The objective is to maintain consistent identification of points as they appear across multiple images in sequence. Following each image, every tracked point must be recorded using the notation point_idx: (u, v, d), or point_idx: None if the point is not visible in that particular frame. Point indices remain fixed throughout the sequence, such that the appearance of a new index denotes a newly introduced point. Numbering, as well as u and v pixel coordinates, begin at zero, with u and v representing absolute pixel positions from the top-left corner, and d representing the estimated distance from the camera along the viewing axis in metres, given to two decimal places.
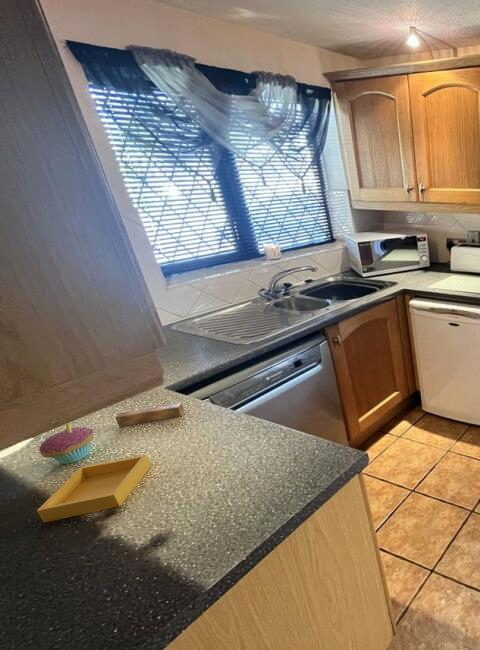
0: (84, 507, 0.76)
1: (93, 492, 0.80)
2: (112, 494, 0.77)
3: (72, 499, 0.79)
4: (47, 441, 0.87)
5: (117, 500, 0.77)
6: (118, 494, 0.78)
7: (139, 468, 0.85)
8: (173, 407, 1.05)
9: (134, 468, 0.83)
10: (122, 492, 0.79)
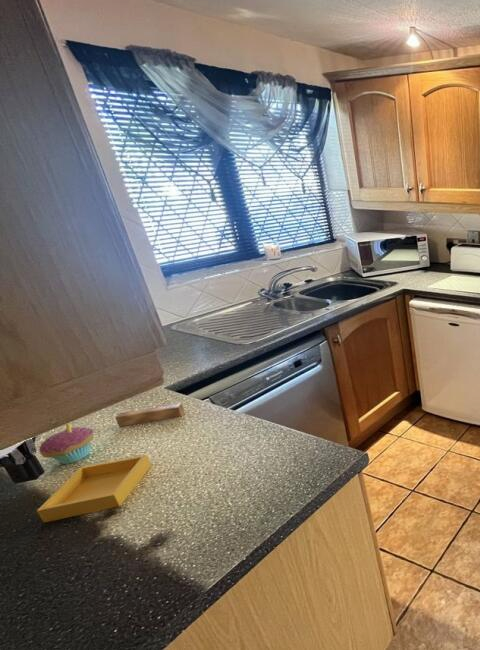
0: (84, 507, 0.76)
1: (93, 492, 0.80)
2: (112, 494, 0.77)
3: (72, 499, 0.79)
4: (47, 441, 0.87)
5: (117, 500, 0.77)
6: (118, 494, 0.78)
7: (139, 468, 0.85)
8: (173, 407, 1.05)
9: (134, 468, 0.83)
10: (122, 492, 0.79)
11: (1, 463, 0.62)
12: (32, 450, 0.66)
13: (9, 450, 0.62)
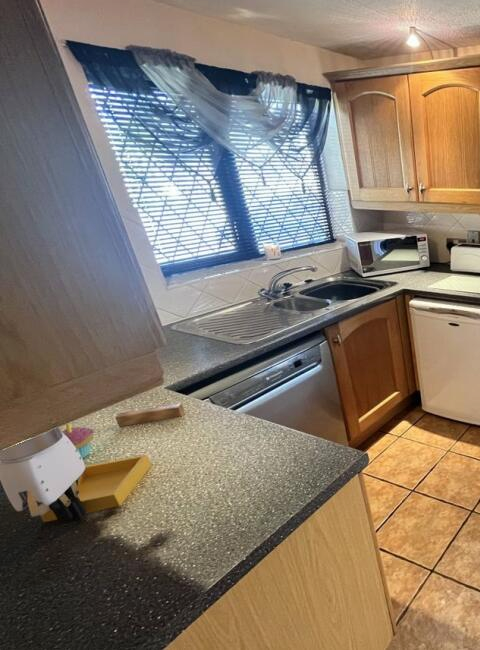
0: (84, 507, 0.76)
1: (93, 492, 0.81)
2: (112, 494, 0.77)
3: None
4: None
5: (117, 500, 0.77)
6: (118, 494, 0.78)
7: (140, 468, 0.85)
8: (173, 407, 1.05)
9: (134, 468, 0.83)
10: (123, 492, 0.79)
11: (51, 507, 0.69)
12: (76, 493, 0.74)
13: (58, 495, 0.69)
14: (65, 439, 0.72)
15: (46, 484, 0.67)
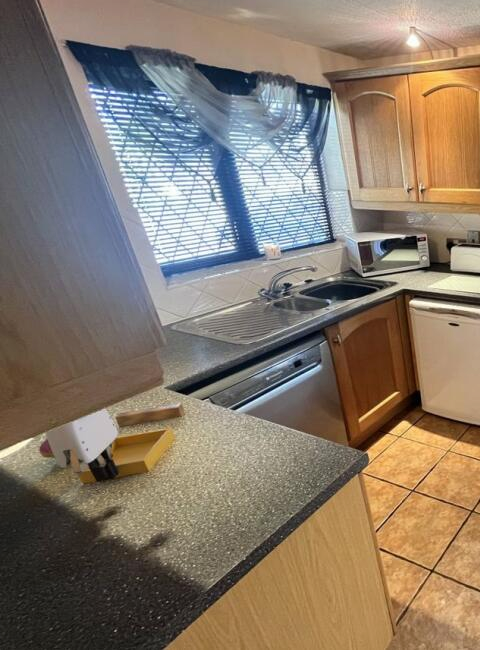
0: None
1: (125, 459, 0.90)
2: (142, 460, 0.86)
3: None
4: (47, 441, 0.87)
5: (147, 465, 0.86)
6: (147, 460, 0.87)
7: (165, 439, 0.94)
8: (173, 407, 1.05)
9: (161, 439, 0.92)
10: (151, 459, 0.88)
11: (90, 466, 0.78)
12: (110, 455, 0.83)
13: (96, 455, 0.78)
14: None
15: (86, 445, 0.76)
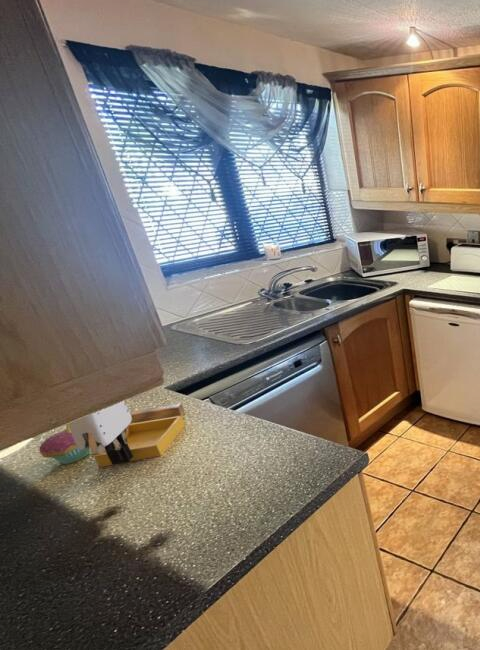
0: None
1: (138, 444, 0.94)
2: (155, 445, 0.90)
3: None
4: (47, 441, 0.87)
5: (159, 450, 0.91)
6: (160, 445, 0.91)
7: (176, 426, 0.98)
8: (173, 407, 1.05)
9: (172, 425, 0.97)
10: (163, 444, 0.93)
11: (106, 449, 0.83)
12: (125, 439, 0.87)
13: (112, 439, 0.83)
14: None
15: (104, 428, 0.81)
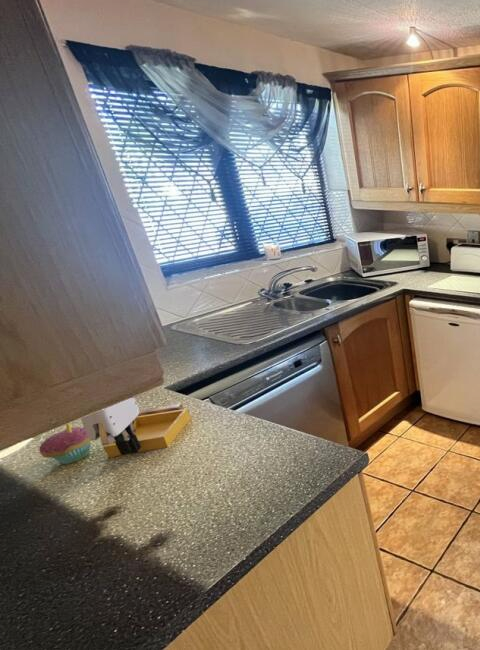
0: None
1: (145, 436, 0.97)
2: (162, 436, 0.93)
3: None
4: (47, 441, 0.87)
5: (166, 441, 0.94)
6: (166, 437, 0.94)
7: (182, 419, 1.01)
8: (173, 407, 1.05)
9: (178, 418, 1.00)
10: (170, 436, 0.95)
11: (116, 439, 0.86)
12: (133, 431, 0.90)
13: (121, 430, 0.86)
14: None
15: (113, 419, 0.84)
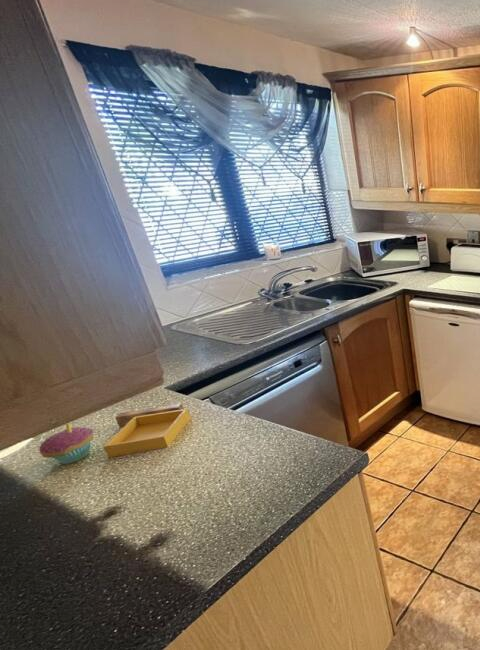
0: (140, 446, 0.92)
1: (145, 436, 0.97)
2: (162, 436, 0.93)
3: (129, 441, 0.96)
4: (47, 441, 0.87)
5: (166, 441, 0.94)
6: (166, 437, 0.94)
7: (182, 419, 1.01)
8: (173, 407, 1.05)
9: (178, 418, 1.00)
10: (170, 436, 0.95)
11: None
12: None
13: None
14: None
15: None
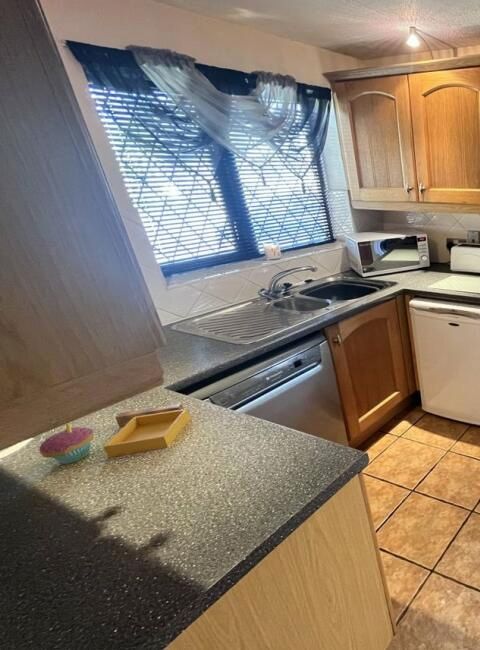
0: (140, 446, 0.92)
1: (145, 436, 0.97)
2: (162, 436, 0.93)
3: (129, 441, 0.96)
4: (47, 441, 0.87)
5: (166, 441, 0.94)
6: (166, 437, 0.94)
7: (182, 419, 1.01)
8: (173, 407, 1.05)
9: (178, 418, 1.00)
10: (170, 436, 0.95)
11: None
12: None
13: None
14: None
15: None
